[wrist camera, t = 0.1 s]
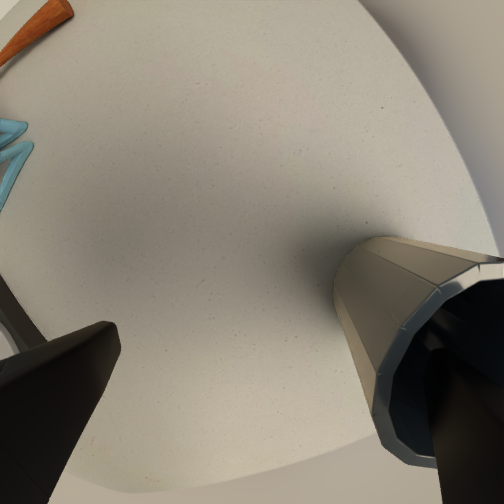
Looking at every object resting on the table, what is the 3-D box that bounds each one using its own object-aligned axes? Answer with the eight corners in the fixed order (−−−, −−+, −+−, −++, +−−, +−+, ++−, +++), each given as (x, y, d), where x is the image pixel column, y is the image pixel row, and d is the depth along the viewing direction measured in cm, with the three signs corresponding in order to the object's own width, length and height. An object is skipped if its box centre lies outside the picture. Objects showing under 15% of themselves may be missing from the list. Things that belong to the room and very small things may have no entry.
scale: (30, 427, 27) (13, 439, 23) (-27, 350, 27) (-45, 357, 24) (68, 366, 24) (45, 380, 21) (-2, 271, 25) (-26, 276, 22)
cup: (379, 357, 20) (443, 491, 7) (310, 291, 20) (320, 398, 8) (448, 285, 19) (577, 352, 6) (383, 213, 19) (498, 207, 7)
